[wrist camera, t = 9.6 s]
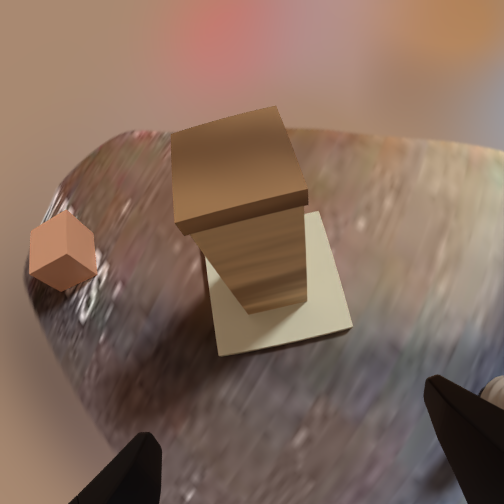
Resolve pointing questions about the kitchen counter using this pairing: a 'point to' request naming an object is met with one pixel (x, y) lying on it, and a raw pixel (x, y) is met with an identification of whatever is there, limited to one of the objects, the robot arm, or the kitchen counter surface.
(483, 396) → the rook chess piece
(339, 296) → the pad
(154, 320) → the kitchen counter surface
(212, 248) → the brown block
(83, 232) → the terracotta block
